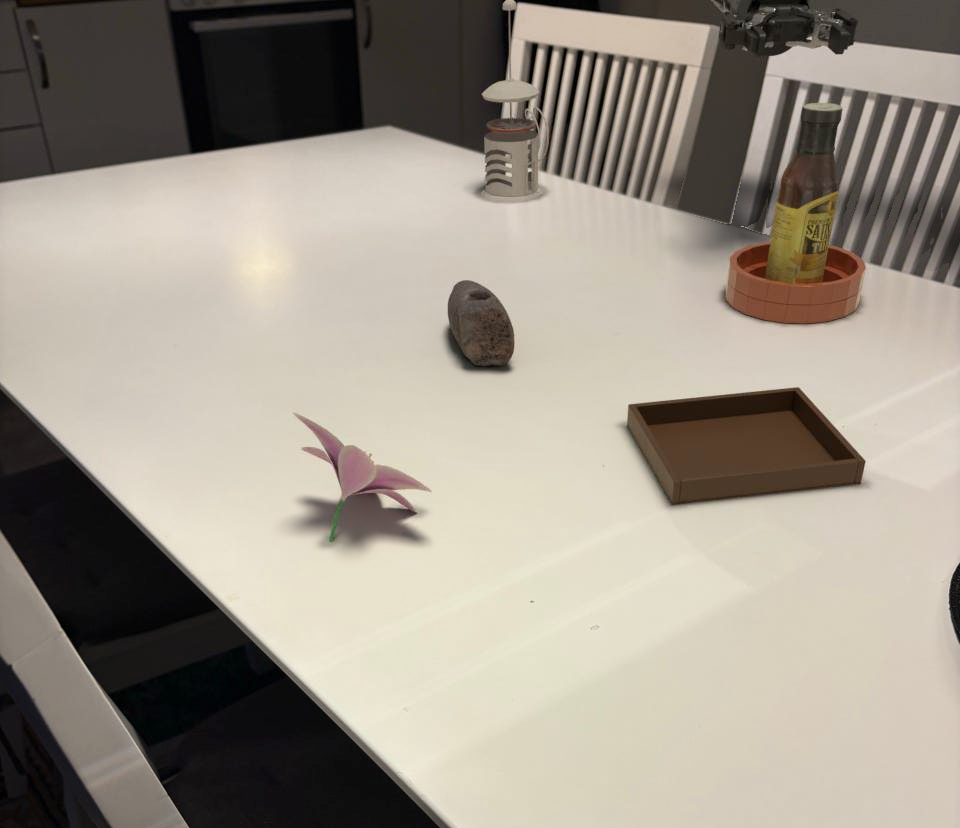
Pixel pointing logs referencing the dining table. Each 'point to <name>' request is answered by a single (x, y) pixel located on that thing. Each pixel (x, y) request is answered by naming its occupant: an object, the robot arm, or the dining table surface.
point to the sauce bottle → (806, 201)
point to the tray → (742, 445)
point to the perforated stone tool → (480, 324)
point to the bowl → (794, 288)
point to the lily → (358, 470)
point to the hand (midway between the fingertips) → (802, 45)
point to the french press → (512, 141)
